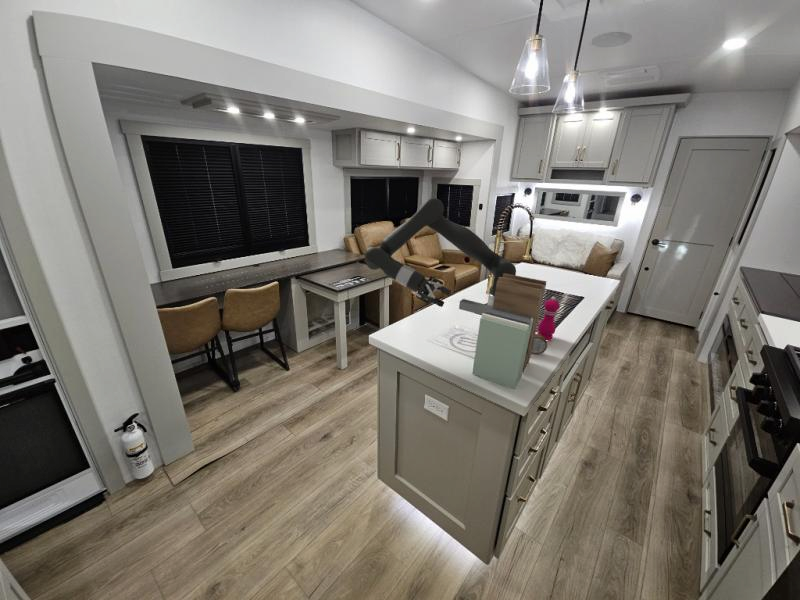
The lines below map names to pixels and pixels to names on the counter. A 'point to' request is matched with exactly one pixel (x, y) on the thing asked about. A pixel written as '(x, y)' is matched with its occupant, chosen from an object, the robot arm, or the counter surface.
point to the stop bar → (494, 311)
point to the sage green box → (501, 350)
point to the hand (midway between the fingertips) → (446, 299)
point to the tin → (539, 344)
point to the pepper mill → (548, 319)
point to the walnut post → (521, 300)
